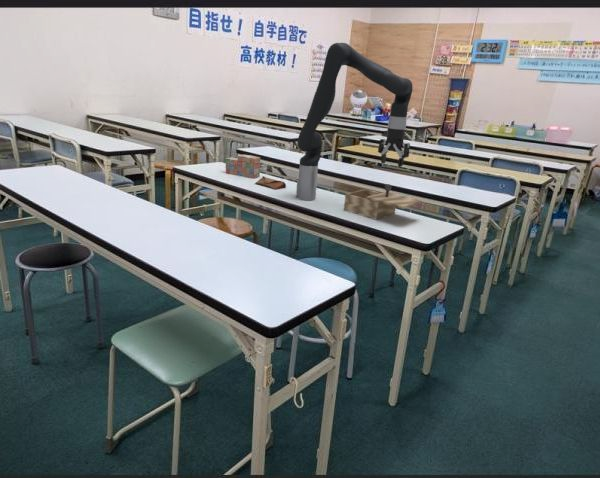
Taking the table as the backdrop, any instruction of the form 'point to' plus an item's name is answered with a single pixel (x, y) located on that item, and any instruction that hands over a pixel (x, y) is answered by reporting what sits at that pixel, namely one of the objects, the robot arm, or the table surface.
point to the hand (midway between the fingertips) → (391, 164)
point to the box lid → (394, 199)
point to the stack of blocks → (243, 166)
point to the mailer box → (366, 205)
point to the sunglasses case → (271, 183)
